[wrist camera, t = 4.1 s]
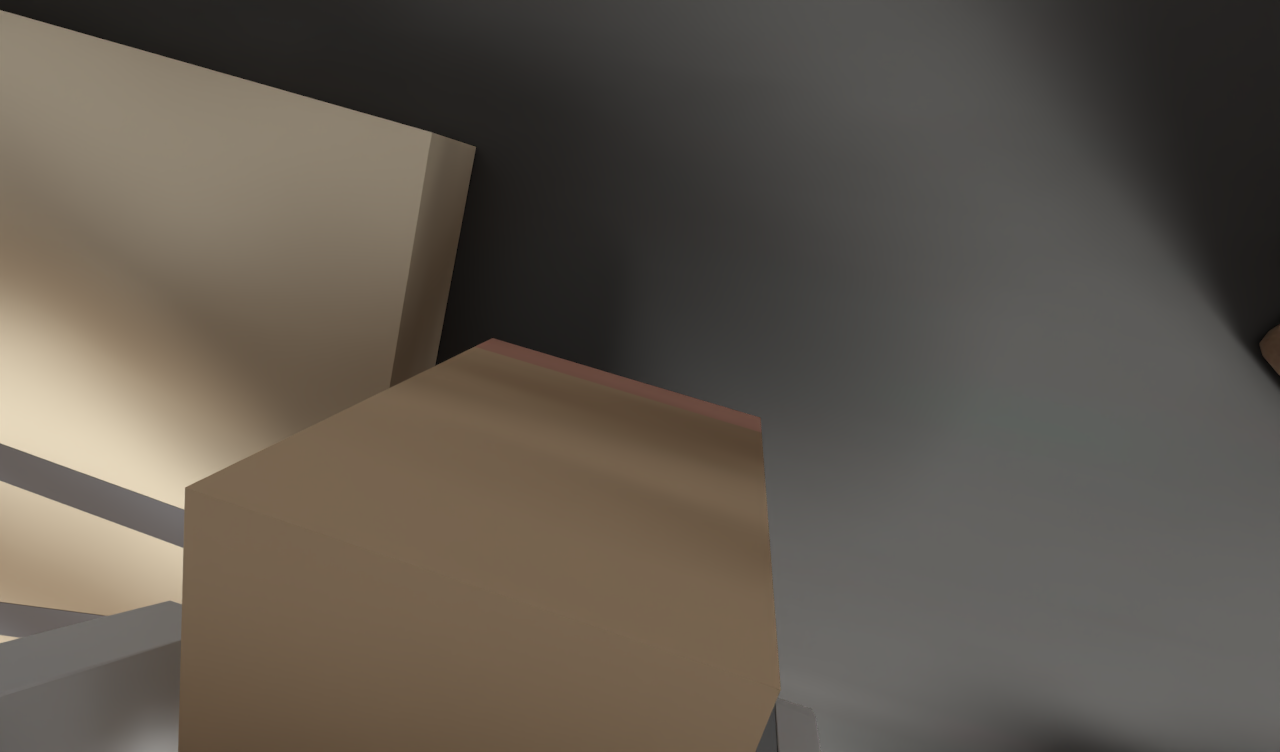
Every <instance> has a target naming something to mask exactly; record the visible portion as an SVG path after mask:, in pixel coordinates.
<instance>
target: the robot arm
mask: <svg viewBox="0 0 1280 752" xmlns="http://www.w3.org/2000/svg"><path fill="white" fill-rule="evenodd" d="M181 623H182V604H179V603H176V602H173V601H166V602H162V603H158V604H154V605H150V606H146V607H142V608H138V609H134V610H130V611H126V612H122V613H118V614H114V615H110V616H106V617H102V618H98V619H94V620H90V621H86V622H82V623H78V624H74V625H70V626H66V627H62V628H58V629H54V630H50V631H46V632H42V633H39V634H35V635H31V636H27V637H23V638H19V639H15V640H11V641H7V642H3V643H0V752H178V738H179V699H180V661H181ZM755 752H821V747H820V741H819V734H818V727H817V721H816V716H815V714H814V712H813V711H812V709H811V708H807V707H804V706H801V705H798V704H795V703H792V702H789V701H785V700H782V699H779V698H777V700H776V702H775V705H774V707H773V710H772V712H771V715H770V717H769V719H768V722H767V724H766V727H765V729H764V732H763V734H762V737H761V739H760V742H759V744H758V746H757V749H756V751H755Z"/></svg>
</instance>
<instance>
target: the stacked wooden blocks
mask: <svg viewBox="0 0 1280 752" xmlns="http://www.w3.org/2000/svg"><path fill="white" fill-rule="evenodd" d="M1259 345H1260V349H1261V352H1262V356H1263V357H1264V358H1265V359H1266V360H1267V361H1268V363H1269V364H1270V365H1271V366H1272V367H1273V368H1274V370H1275V371H1276V372H1277V373H1278V374H1279V376H1280V324H1279V325H1277V326H1276V327H1274V328H1273V329H1271V330H1270V331H1269V332H1268V333H1267V334H1266V335H1265V337H1264V338H1263V339H1262V341H1261V342H1260V343H1259Z"/></svg>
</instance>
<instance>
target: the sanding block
mask: <svg viewBox="0 0 1280 752" xmlns="http://www.w3.org/2000/svg"><path fill="white" fill-rule="evenodd" d="M780 690H781V688H780V674H779V661H778V647H777V634H776V621H775V607H774V594H773V580H772V567H771V553H770V540H769V526H768V513H767V499H766V486H765V473H764V459H763V446H762V432H761V419H760V417H756V416H753V415H750V414H746V413H743V412H740V411H736V410H733V409H729V408H726V407H723V406H719V405H716V404H713V403H709V402H706V401H703V400H699V399H696V398H692V397H689V396H686V395H682V394H679V393H676V392H672V391H669V390H666V389H662V388H659V387H655V386H652V385H649V384H645V383H642V382H639V381H635V380H632V379H629V378H625V377H622V376H619V375H615V374H612V373H608V372H605V371H602V370H598V369H595V368H592V367H588V366H585V365H582V364H578V363H575V362H571V361H568V360H565V359H561V358H558V357H555V356H551V355H548V354H545V353H541V352H538V351H534V350H531V349H528V348H524V347H521V346H518V345H514V344H511V343H508V342H504V341H501V340H497V339H494V338H492V339H490V340H487V341H485V342H483V343H481V344H479V345H477V346H475V347H473V348H471V349H469V350H467V351H465V352H463V353H461V354H459V355H457V356H455V357H452V358H450V359H448V360H446V361H444V362H442V363H440V364H438V365H436V366H434V367H432V368H430V369H428V370H426V371H424V372H422V373H420V374H418V375H415V376H413V377H411V378H409V379H407V380H405V381H403V382H401V383H399V384H397V385H395V386H393V387H391V388H389V389H387V390H385V391H383V392H380V393H378V394H376V395H374V396H372V397H370V398H368V399H366V400H364V401H362V402H360V403H358V404H356V405H354V406H352V407H350V408H348V409H345V410H343V411H341V412H339V413H337V414H335V415H333V416H331V417H329V418H327V419H325V420H323V421H321V422H319V423H317V424H315V425H313V426H311V427H308V428H306V429H304V430H302V431H300V432H298V433H296V434H294V435H292V436H290V437H288V438H286V439H284V440H282V441H280V442H278V443H276V444H273V445H271V446H269V447H267V448H265V449H263V450H261V451H259V452H257V453H255V454H253V455H251V456H249V457H247V458H245V459H243V460H241V461H239V462H236V463H234V464H232V465H230V466H228V467H226V468H224V469H222V470H220V471H218V472H216V473H214V474H212V475H210V476H208V477H206V478H204V479H201V480H199V481H197V482H195V483H193V484H191V485H189V486H187V487H185V507H184V546H183V584H182V623H181V661H180V699H179V738H178V752H755V751H756V749H757V746H758V744H759V742H760V739H761V737H762V734H763V732H764V729H765V727H766V724H767V722H768V719H769V717H770V715H771V712H772V710H773V707H774V705H775V702H776V700H777V697H778V695H779V693H780Z"/></svg>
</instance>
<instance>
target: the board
mask: <svg viewBox="0 0 1280 752" xmlns="http://www.w3.org/2000/svg"><path fill="white" fill-rule="evenodd" d="M475 150H476V147H475V146H472V145H469V144H466V143H463V142H460V141H457V140H454V139H450V138H447V137H444V136H441V135H438V134H435V133H432V132H429V131H425V130H422V129H418V128H415V127H411V126H408V125H404V124H401V123H397V122H394V121H390V120H386V119H383V118H379V117H376V116H372V115H369V114H365V113H362V112H358V111H355V110H351V109H348V108H344V107H341V106H337V105H334V104H330V103H327V102H323V101H319V100H316V99H312V98H309V97H305V96H302V95H298V94H295V93H291V92H288V91H284V90H281V89H277V88H274V87H270V86H267V85H263V84H259V83H256V82H252V81H249V80H245V79H242V78H238V77H235V76H231V75H228V74H224V73H221V72H217V71H214V70H210V69H207V68H203V67H200V66H196V65H192V64H189V63H185V62H182V61H178V60H175V59H171V58H168V57H164V56H161V55H157V54H154V53H150V52H147V51H143V50H140V49H136V48H132V47H129V46H125V45H122V44H118V43H115V42H111V41H108V40H104V39H101V38H97V37H94V36H90V35H87V34H83V33H80V32H76V31H72V30H69V29H65V28H62V27H58V26H55V25H51V24H48V23H44V22H41V21H37V20H34V19H30V18H27V17H23V16H20V15H16V14H13V13H9V12H5V11H2V10H0V643H3V642H7V641H11V640H15V639H19V638H23V637H27V636H31V635H35V634H39V633H42V632H46V631H50V630H54V629H58V628H62V627H66V626H70V625H74V624H78V623H82V622H86V621H90V620H94V619H98V618H102V617H106V616H110V615H114V614H118V613H122V612H126V611H130V610H134V609H138V608H142V607H146V606H150V605H154V604H158V603H162V602H166V601H173V602H176V603H179V604H182V584H183V546H184V507H185V487H187V486H189V485H191V484H193V483H195V482H197V481H199V480H201V479H204V478H206V477H208V476H210V475H212V474H214V473H216V472H218V471H220V470H222V469H224V468H226V467H228V466H230V465H232V464H234V463H236V462H239V461H241V460H243V459H245V458H247V457H249V456H251V455H253V454H255V453H257V452H259V451H261V450H263V449H265V448H267V447H269V446H271V445H273V444H276V443H278V442H280V441H282V440H284V439H286V438H288V437H290V436H292V435H294V434H296V433H298V432H300V431H302V430H304V429H306V428H308V427H311V426H313V425H315V424H317V423H319V422H321V421H323V420H325V419H327V418H329V417H331V416H333V415H335V414H337V413H339V412H341V411H343V410H345V409H348V408H350V407H352V406H354V405H356V404H358V403H360V402H362V401H364V400H366V399H368V398H370V397H372V396H374V395H376V394H378V393H380V392H383V391H385V390H387V389H389V388H391V387H393V386H395V385H397V384H399V383H401V382H403V381H405V380H407V379H409V378H411V377H413V376H415V375H418V374H420V373H422V372H424V371H426V370H428V369H430V368H432V367H434V366H435V365H436V359H437V354H438V348H439V343H440V338H441V332H442V327H443V322H444V316H445V311H446V306H447V300H448V295H449V290H450V284H451V279H452V273H453V268H454V263H455V257H456V252H457V247H458V241H459V236H460V231H461V225H462V220H463V215H464V209H465V204H466V199H467V193H468V188H469V182H470V177H471V172H472V166H473V161H474V156H475Z"/></svg>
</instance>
